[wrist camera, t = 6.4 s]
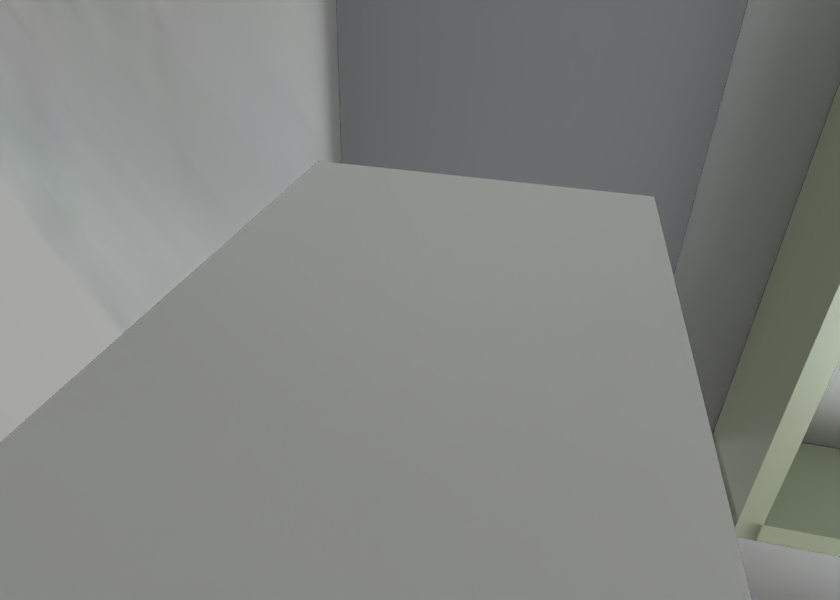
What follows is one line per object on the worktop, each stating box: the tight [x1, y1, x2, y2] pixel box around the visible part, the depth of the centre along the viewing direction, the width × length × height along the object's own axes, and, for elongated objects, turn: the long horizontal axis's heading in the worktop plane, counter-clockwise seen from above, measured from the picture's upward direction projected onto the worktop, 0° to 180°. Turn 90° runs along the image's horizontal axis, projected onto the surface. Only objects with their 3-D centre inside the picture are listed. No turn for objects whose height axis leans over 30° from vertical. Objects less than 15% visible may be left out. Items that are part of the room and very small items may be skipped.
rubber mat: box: [336, 0, 748, 276], centre depth 17 cm, size 12×9×1 cm
